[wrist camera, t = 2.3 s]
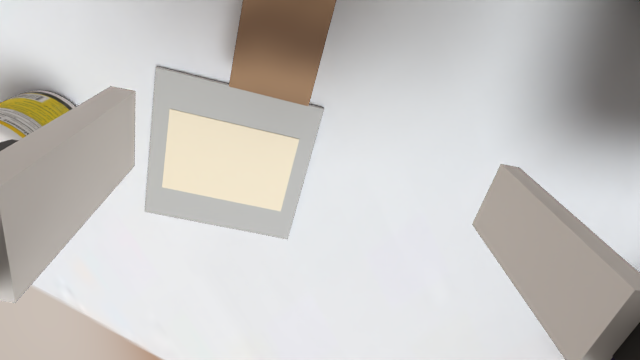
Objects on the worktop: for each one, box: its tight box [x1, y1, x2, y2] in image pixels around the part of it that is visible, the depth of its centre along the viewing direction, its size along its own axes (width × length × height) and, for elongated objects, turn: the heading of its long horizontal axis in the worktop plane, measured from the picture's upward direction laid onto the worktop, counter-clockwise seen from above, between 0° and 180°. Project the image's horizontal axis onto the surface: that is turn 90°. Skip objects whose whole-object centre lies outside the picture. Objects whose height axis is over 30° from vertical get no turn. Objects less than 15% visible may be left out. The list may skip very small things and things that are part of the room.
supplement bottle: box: [0, 90, 75, 142], centre depth 25 cm, size 5×5×10 cm
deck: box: [229, 0, 336, 106], centre depth 25 cm, size 8×5×4 cm, turn 165°
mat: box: [145, 66, 324, 239], centre depth 31 cm, size 12×12×1 cm
